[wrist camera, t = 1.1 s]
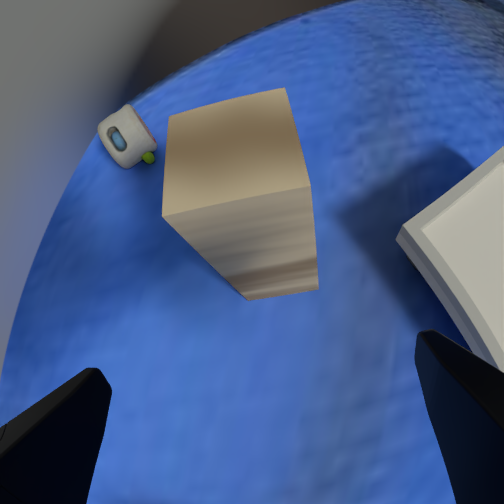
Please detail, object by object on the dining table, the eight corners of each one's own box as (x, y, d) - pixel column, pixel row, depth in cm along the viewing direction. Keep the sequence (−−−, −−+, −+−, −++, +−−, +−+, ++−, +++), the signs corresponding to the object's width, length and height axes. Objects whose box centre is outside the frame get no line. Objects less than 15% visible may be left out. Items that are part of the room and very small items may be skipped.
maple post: (318, 289, 21) (310, 185, 10) (248, 300, 22) (162, 216, 10) (307, 224, 23) (284, 87, 12) (241, 236, 24) (169, 116, 12)
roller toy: (129, 185, 29) (97, 151, 24) (115, 149, 32) (88, 117, 26) (166, 159, 29) (139, 121, 24) (148, 126, 32) (124, 91, 26)
